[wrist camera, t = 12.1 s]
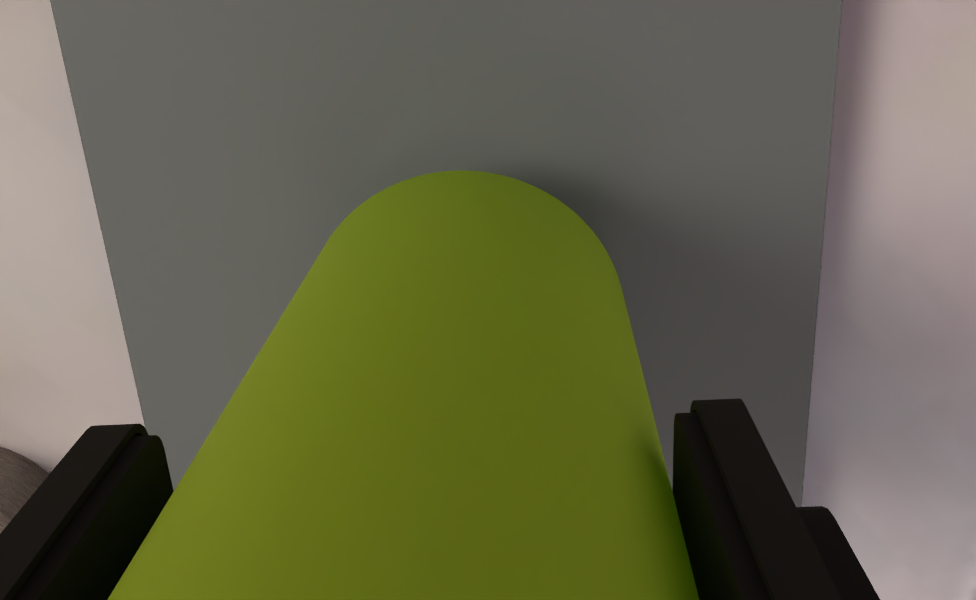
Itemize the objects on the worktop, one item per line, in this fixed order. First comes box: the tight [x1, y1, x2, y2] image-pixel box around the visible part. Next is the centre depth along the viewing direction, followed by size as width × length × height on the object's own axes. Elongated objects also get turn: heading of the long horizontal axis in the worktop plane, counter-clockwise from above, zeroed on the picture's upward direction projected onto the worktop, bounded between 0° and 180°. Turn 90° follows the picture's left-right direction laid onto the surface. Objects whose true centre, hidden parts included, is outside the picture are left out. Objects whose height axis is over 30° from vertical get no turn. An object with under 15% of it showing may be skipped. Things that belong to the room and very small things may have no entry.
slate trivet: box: [50, 0, 842, 507], centre depth 19 cm, size 14×14×1 cm
